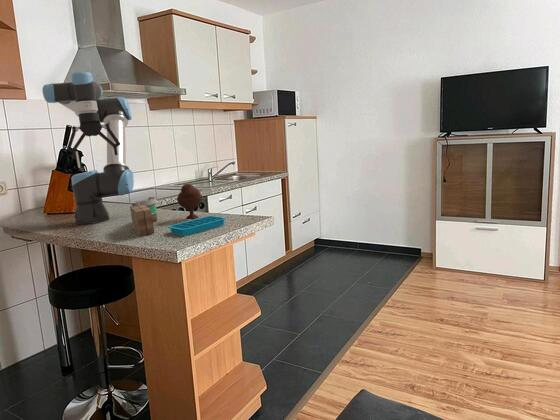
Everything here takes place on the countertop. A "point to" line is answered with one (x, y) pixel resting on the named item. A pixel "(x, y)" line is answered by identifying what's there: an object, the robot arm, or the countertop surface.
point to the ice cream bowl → (189, 199)
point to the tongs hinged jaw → (147, 218)
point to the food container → (151, 206)
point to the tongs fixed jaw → (138, 219)
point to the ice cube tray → (197, 225)
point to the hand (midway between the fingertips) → (97, 165)
